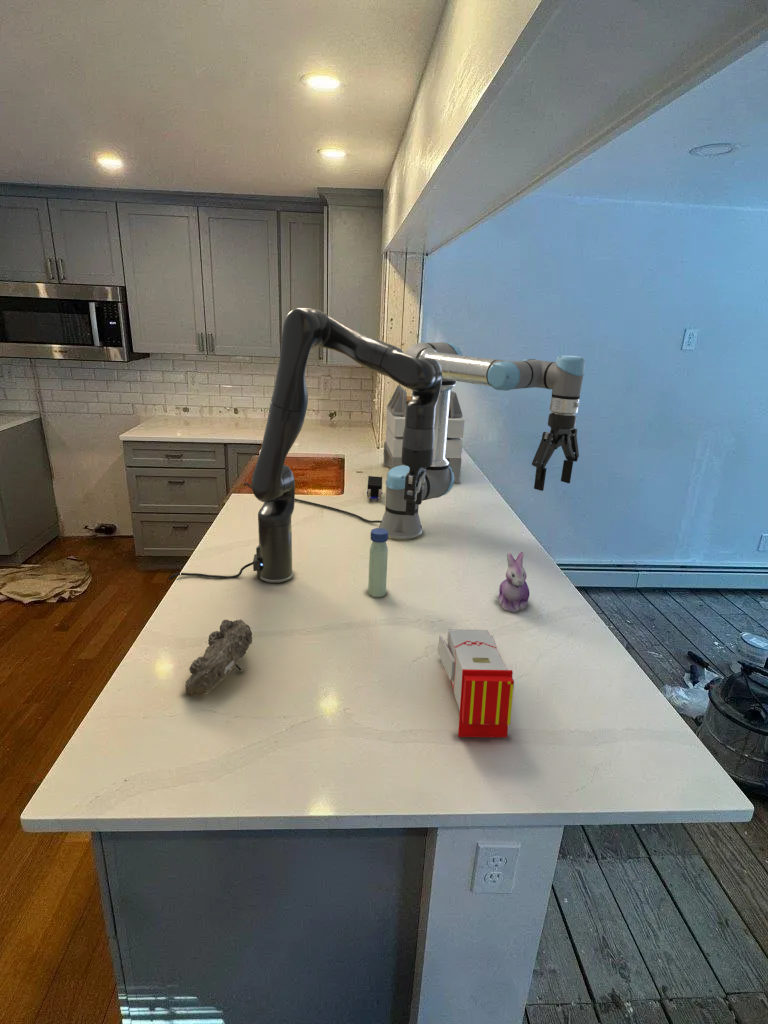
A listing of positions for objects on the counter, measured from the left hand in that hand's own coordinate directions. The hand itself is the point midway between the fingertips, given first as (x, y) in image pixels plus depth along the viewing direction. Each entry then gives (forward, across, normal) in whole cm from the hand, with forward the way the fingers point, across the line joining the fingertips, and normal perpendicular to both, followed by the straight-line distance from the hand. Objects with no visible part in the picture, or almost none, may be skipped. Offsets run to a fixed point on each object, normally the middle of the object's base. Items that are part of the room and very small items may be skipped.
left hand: (413, 509), depth 140 cm
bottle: (+28, -7, -10) cm, 31 cm away
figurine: (+28, -12, +27) cm, 41 cm away
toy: (+28, +30, +20) cm, 45 cm away
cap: (+10, -7, -10) cm, 16 cm away
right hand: (0, -36, +34) cm, 49 cm away
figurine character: (+29, -87, -32) cm, 97 cm away
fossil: (+28, +38, -32) cm, 57 cm away
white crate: (+28, -132, -22) cm, 136 cm away
